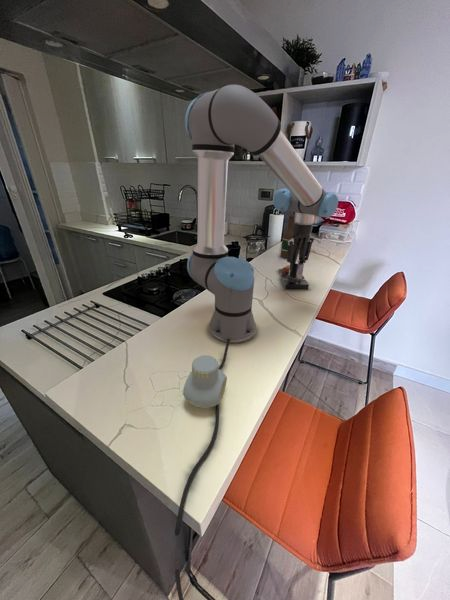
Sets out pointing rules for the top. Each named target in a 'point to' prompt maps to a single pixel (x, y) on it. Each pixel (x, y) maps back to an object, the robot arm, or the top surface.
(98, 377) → the top surface
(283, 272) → the button block
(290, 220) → the beer bottle
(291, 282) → the control panel
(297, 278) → the white upright panel
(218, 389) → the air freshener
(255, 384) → the top surface
